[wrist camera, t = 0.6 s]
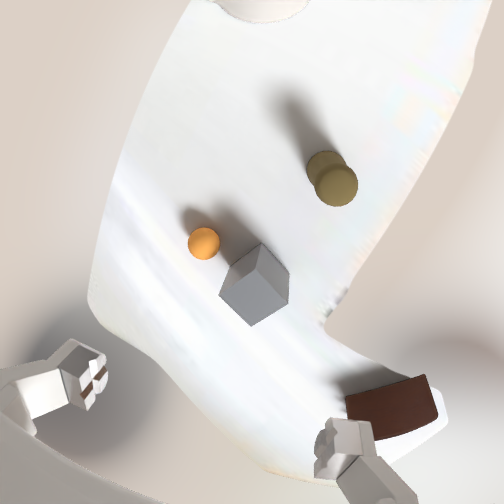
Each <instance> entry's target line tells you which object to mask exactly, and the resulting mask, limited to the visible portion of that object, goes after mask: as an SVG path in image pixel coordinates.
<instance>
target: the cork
mask: <svg viewBox="0 0 504 504" xmlns="http://www.w3.org/2000/svg"><path fill="white" fill-rule="evenodd" d="M307 176H308V178H309V181H310V182H311V183H312V184H313V186H314V188H315V191H316V194H317V196H318V197H319V198H320V200H321V201H323V202H324V203H326V204H327V205H331V206H334V207H335V206H343V205H346V204H348V203H349V202H351V201H352V200H353V198H354V197H355V196H356V193H357V190H358V180H357V177H356V174H355V173H354V172H353V170H352V169H351V168H349V167H348V166H347V165H346V163H345V161H344V159H343V158H342V157H341V156H340V155H338V154H337V153H335V152H332V151H322V152H319V153H317V154H315V155H314V156H313V157H312V158H311V159H310V161H309V162H308V166H307Z"/></svg>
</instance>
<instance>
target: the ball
mask: <svg viewBox="0 0 504 504" xmlns="http://www.w3.org/2000/svg"><path fill="white" fill-rule="evenodd" d="M219 247H220V240H219V237H218V235H217V234H216V232H214V231H213V230H212V229H209V228H198V229H196V230H195V231H193V232H192V233H191V235H190V237H189V239H188V248H189V251H190V253H191V254H192V255H193V256H194V257H196V258H197V259H201V260H207V259H210V258H212V257H214V256H215V255H216V254H217V252H218V250H219Z"/></svg>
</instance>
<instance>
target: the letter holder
mask: <svg viewBox="0 0 504 504" xmlns="http://www.w3.org/2000/svg"><path fill="white" fill-rule="evenodd" d="M345 400H346V408H347V418H348V420H356V421H368V422H370V423H371V427H372V432H373V437H374V441H378V440H383V439H387V438H392V437H395V436H399V435H402V434H405V433H408V432H411V431H413V430H416V429H418V428H420V427H423V426H425V425H427V424H429V423H431V422H433V421H434V420H436V419H437V418H438V412H437V408H436V405H435V402H434V399H433V396H432V393H431V390H430V387H429V384H428V381H427V378H426V375H425V374H422V375H420V376H417V377H414V378H411V379H408V380H405V381H402V382H398V383H395V384H392V385H388V386H385V387H381V388H377V389H374V390H370V391H366V392H362V393H358V394H354V395H350V396H346V399H345Z"/></svg>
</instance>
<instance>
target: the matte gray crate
mask: <svg viewBox="0 0 504 504" xmlns="http://www.w3.org/2000/svg"><path fill="white" fill-rule="evenodd" d="M219 296H220V297H221V298H222V299H223V300H224V301H225V302H226V303H227V304H228V305H229V306H230V307H231V308H232V309H233V310H234V311H235V312H236V313H237V314H238V315H239V316H240V317H241V318H242V319H243V320H244V321H245V322H247V323H248V324H249V325H250V326H253V325H255V324H256V323H258V322H260V321H261V320H263V319H264V318H266V317H268V316H269V315H271V314H273V313H274V312H276V311H277V310H279V309H281V308H282V307H284V306H285V305H287V304H288V296H289V272H288V271H287V270H286V269H285V268H284V267H283V266H282V264H281V263H280V262H279V261H278V260H277V259H276V258H275V257H274V255H273V254H272V253H271V252H270V251H269V250H268V249H267V248H266V247H265V245H264V244H263V243H261V244H259V245H258V246H257V247H255V248H254V249H253V250H251V251H250V252H249V253H247V254H246V255H245V256H243V257H242V258H241V259H239V260H238V261H237V262H235V263H234V264H233V265H231V266H230V268H229V271H228V273H227V275H226V278H225V280H224V283H223V285H222V288H221V290H220V293H219Z"/></svg>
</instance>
